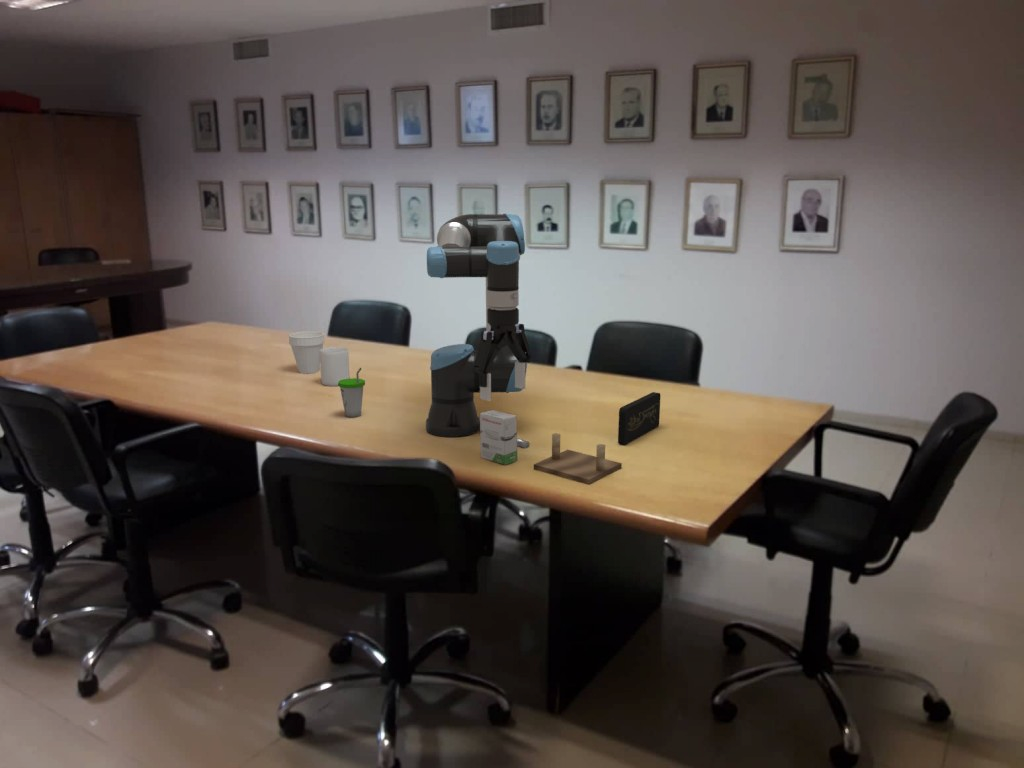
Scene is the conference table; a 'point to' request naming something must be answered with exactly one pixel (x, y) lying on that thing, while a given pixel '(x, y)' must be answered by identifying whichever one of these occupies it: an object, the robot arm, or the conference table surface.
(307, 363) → the white flower pot
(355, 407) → the cup
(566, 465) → the rack
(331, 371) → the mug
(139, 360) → the conference table surface
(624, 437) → the nameplate
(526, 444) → the pin
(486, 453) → the ink box
